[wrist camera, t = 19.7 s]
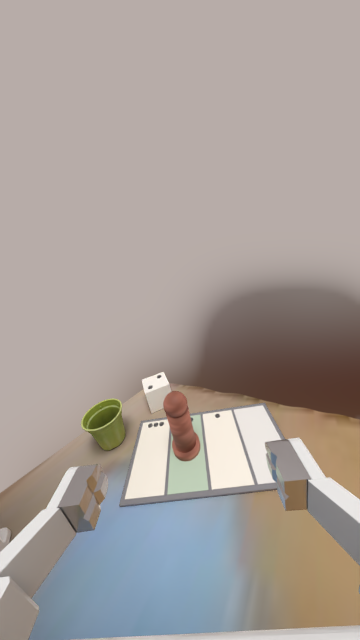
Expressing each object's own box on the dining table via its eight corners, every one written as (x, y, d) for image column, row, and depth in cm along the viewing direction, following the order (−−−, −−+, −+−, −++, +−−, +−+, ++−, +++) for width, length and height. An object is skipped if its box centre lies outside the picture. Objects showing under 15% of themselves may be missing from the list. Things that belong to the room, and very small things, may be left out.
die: (151, 413, 52) (144, 393, 50) (147, 398, 59) (141, 379, 56) (174, 403, 54) (169, 383, 52) (168, 389, 60) (163, 371, 58)
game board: (119, 507, 33) (118, 504, 33) (141, 422, 50) (140, 420, 50) (310, 486, 30) (310, 483, 30) (264, 404, 47) (264, 402, 47)
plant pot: (115, 462, 41) (102, 434, 38) (85, 453, 45) (71, 426, 42) (138, 426, 49) (129, 400, 46) (111, 421, 53) (101, 396, 50)
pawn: (172, 463, 38) (155, 408, 33) (174, 436, 43) (159, 386, 39) (201, 459, 37) (188, 403, 33) (199, 432, 43) (187, 382, 39)
